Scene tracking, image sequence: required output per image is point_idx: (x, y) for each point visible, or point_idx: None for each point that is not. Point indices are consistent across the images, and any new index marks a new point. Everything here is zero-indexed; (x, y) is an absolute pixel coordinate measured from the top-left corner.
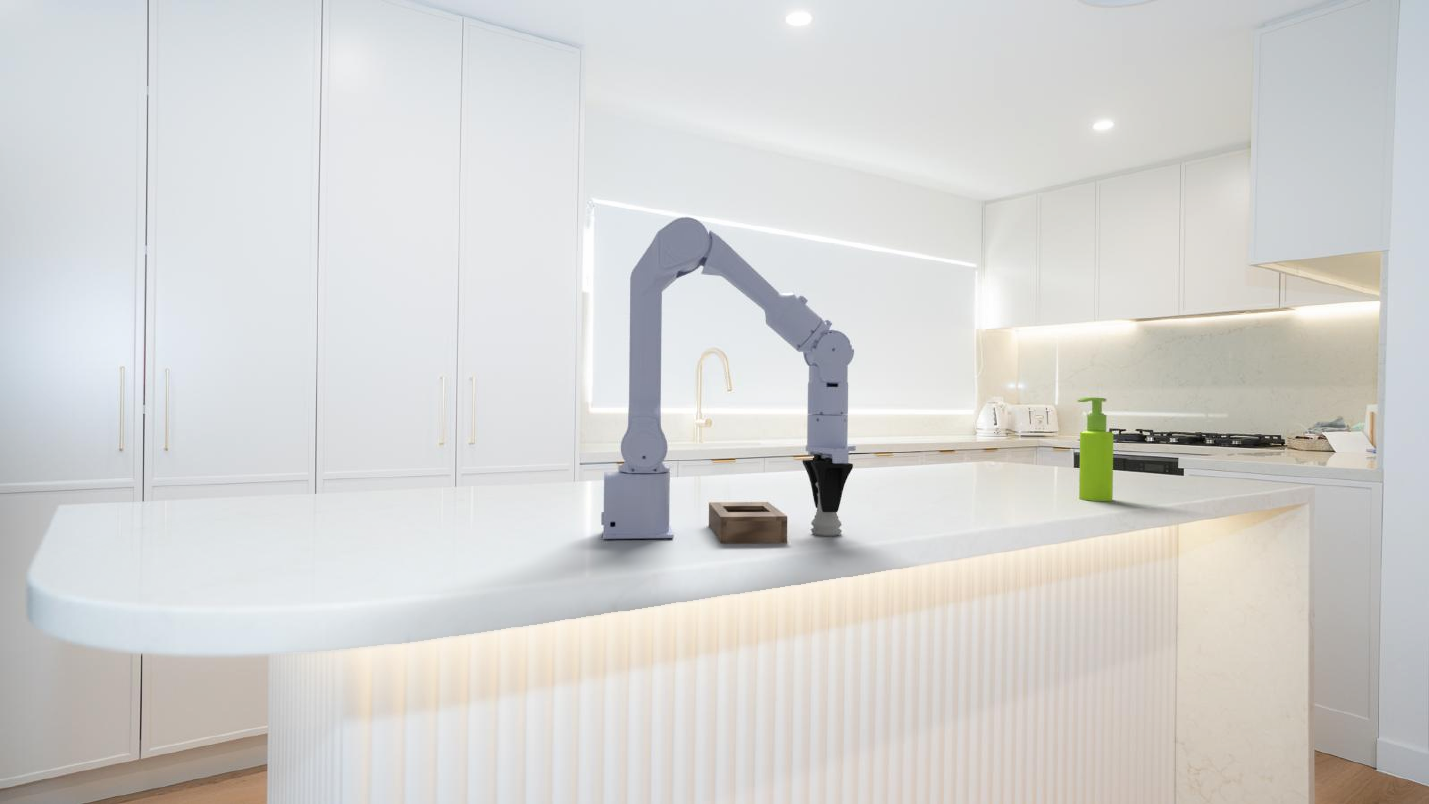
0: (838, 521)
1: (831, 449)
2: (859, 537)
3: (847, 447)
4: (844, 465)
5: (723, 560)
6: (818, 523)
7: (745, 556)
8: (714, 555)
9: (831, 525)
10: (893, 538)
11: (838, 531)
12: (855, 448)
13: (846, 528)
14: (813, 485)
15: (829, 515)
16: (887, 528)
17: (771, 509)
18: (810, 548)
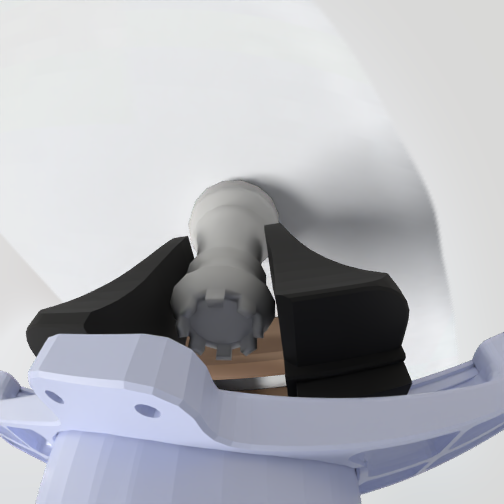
0: (253, 202)
1: (472, 443)
2: (281, 133)
3: (420, 435)
4: (400, 334)
5: (439, 363)
6: (266, 257)
7: (430, 349)
8: (412, 375)
9: (276, 222)
10: (289, 41)
11: (262, 193)
12: (163, 360)
13: (134, 156)
14: (185, 340)
15: (264, 239)
16: (119, 43)
17: (253, 372)
18: (407, 269)
